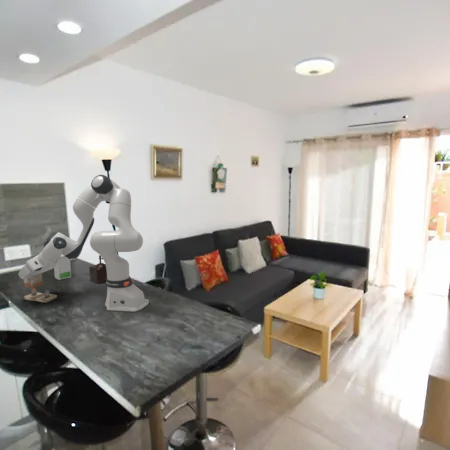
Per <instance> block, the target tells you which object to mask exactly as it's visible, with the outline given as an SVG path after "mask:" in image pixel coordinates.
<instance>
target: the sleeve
mask: <svg viewBox="0 0 450 450" xmlns="http://www.w3.org/2000/svg"><path fill="white" fill-rule="evenodd" d="M23 284H24V285H23V286H24V287H25V288H31V289H32V288H36V287H39V286H41V285H43V284H44V283H43V273H39V274H36V275H34V276H31V277H29V279H28V280H25V279H23Z"/></svg>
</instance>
